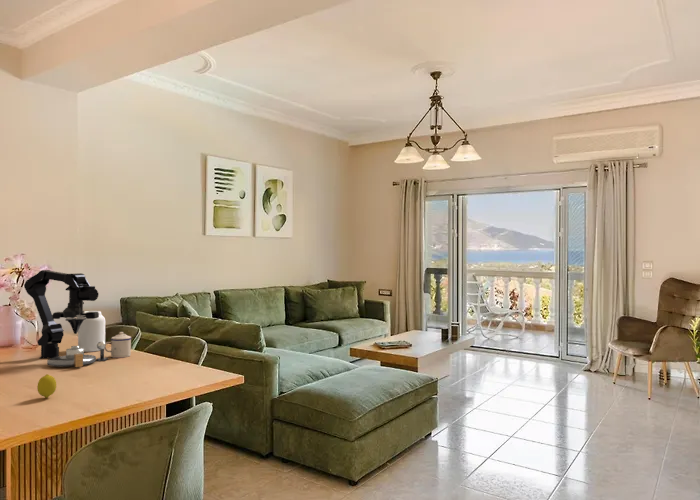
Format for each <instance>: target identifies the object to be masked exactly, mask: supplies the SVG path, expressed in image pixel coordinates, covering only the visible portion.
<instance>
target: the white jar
mask: <svg viewBox="0 0 700 500" xmlns="http://www.w3.org/2000/svg"><path fill="white" fill-rule="evenodd" d="M87 312H98V313H99V317H98V318H95V319H87V318H86V317H85V318H86V319H85V320H83V322H82V324H81V326H80V328H79V330H78V332H77V346H79V348H84V353H93V352H94V353H95V352H100V350H99V349H98V348H97V344H98V343H99V342H104V343H106V318H105V316H103V314H102V311H101V310H87V311H86V310H84V313H87Z"/></svg>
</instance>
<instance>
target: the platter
mask: <svg viewBox="0 0 700 500" xmlns="http://www.w3.org/2000/svg"><path fill="white" fill-rule="evenodd" d="M96 359H97V357H96V355H93V354H84V358H83V354H82V353H80V354H74V359H66V355H62V356H60V355H59V356H58V357H54V358H47V361H46V362H47V366H50V367H59V368H67V367H66V366H74V367H75V368H81V367H84V366H85V365H89V364H93V363H95V362H97V361H96Z"/></svg>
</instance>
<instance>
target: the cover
mask: <svg viewBox="0 0 700 500" xmlns="http://www.w3.org/2000/svg"><path fill="white" fill-rule="evenodd" d="M65 353H66V354H65V356H66V359H74V354H80V353H82V354H83V358H84V355H85V352H84V348H79V346H78V345H73V346H71V347H69V348H67V349H66V351H65Z"/></svg>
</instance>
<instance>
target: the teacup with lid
mask: <svg viewBox="0 0 700 500" xmlns="http://www.w3.org/2000/svg"><path fill="white" fill-rule="evenodd" d="M105 344H106V345H108V344H110V345H111V346H110V347H111V348H110V349H111V350H109V349H107V348H106V347H105V348H104V351H105V352H107V353H110V357H111V358H113V359H118V358H119V359H123V358H128V357H131V353H132V352H131V350H132V347H131V346H132V336H131V335H127V334H126V333H124V331H119V332H118V334H115V336H112V337H111V338H110V341H105Z"/></svg>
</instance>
